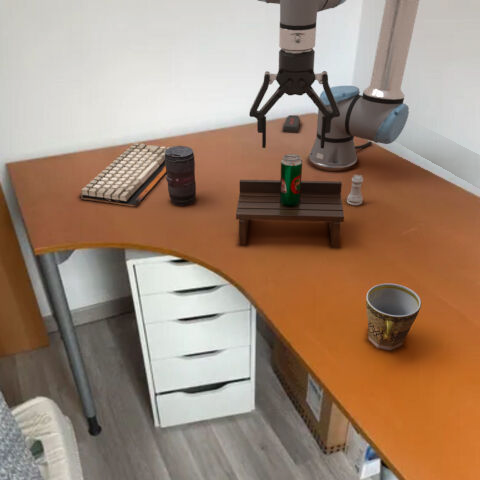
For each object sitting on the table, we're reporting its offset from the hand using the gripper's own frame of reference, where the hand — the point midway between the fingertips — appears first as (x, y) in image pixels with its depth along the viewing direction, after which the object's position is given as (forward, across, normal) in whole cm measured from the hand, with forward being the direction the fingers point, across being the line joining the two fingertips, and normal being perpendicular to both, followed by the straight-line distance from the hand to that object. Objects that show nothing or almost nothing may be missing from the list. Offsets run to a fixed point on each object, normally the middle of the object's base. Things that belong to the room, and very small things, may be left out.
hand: (293, 146), depth 123 cm
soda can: (+14, 0, -1) cm, 15 cm away
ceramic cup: (+23, +19, -42) cm, 52 cm away
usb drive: (+24, +1, +74) cm, 78 cm away
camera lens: (+23, -30, +15) cm, 41 cm away
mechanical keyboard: (+23, -49, +30) cm, 62 cm away
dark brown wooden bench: (+23, 0, -1) cm, 23 cm away
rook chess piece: (+23, +18, +15) cm, 33 cm away
